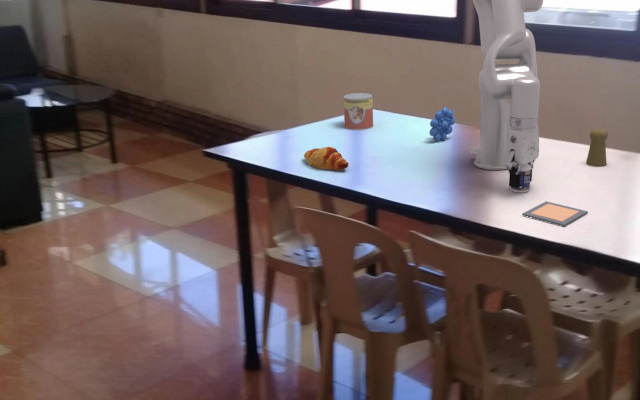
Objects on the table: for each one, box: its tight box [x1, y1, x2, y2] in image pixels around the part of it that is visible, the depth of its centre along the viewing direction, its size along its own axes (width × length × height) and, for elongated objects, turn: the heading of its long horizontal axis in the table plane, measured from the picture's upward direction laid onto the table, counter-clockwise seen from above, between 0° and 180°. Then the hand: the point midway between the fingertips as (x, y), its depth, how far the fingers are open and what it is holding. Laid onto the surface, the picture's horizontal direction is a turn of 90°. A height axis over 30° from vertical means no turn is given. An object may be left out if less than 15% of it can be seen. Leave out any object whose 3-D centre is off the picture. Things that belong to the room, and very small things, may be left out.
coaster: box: [521, 200, 589, 227], centre depth 193 cm, size 12×12×1 cm
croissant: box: [303, 146, 349, 171], centre depth 241 cm, size 21×10×8 cm, turn 41°
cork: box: [585, 128, 609, 168], centre depth 230 cm, size 6×6×11 cm
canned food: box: [342, 92, 374, 131], centre depth 286 cm, size 11×11×12 cm
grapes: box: [429, 106, 456, 142], centre depth 263 cm, size 12×7×12 cm, turn 124°
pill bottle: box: [509, 161, 532, 193], centre depth 210 cm, size 5×5×10 cm
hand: (520, 183), depth 211 cm, fingers closed on pill bottle, 5 cm apart
